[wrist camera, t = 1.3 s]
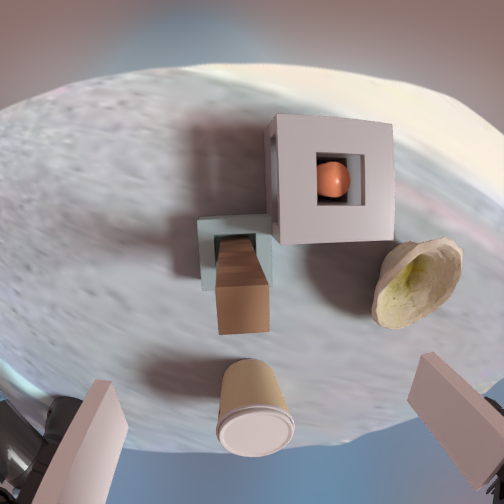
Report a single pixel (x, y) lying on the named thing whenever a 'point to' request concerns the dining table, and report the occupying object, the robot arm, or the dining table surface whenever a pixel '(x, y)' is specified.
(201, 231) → the holder
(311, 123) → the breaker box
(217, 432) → the coffee cup
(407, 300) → the bowl
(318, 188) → the button
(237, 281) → the brown wooden bar
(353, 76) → the dining table surface
